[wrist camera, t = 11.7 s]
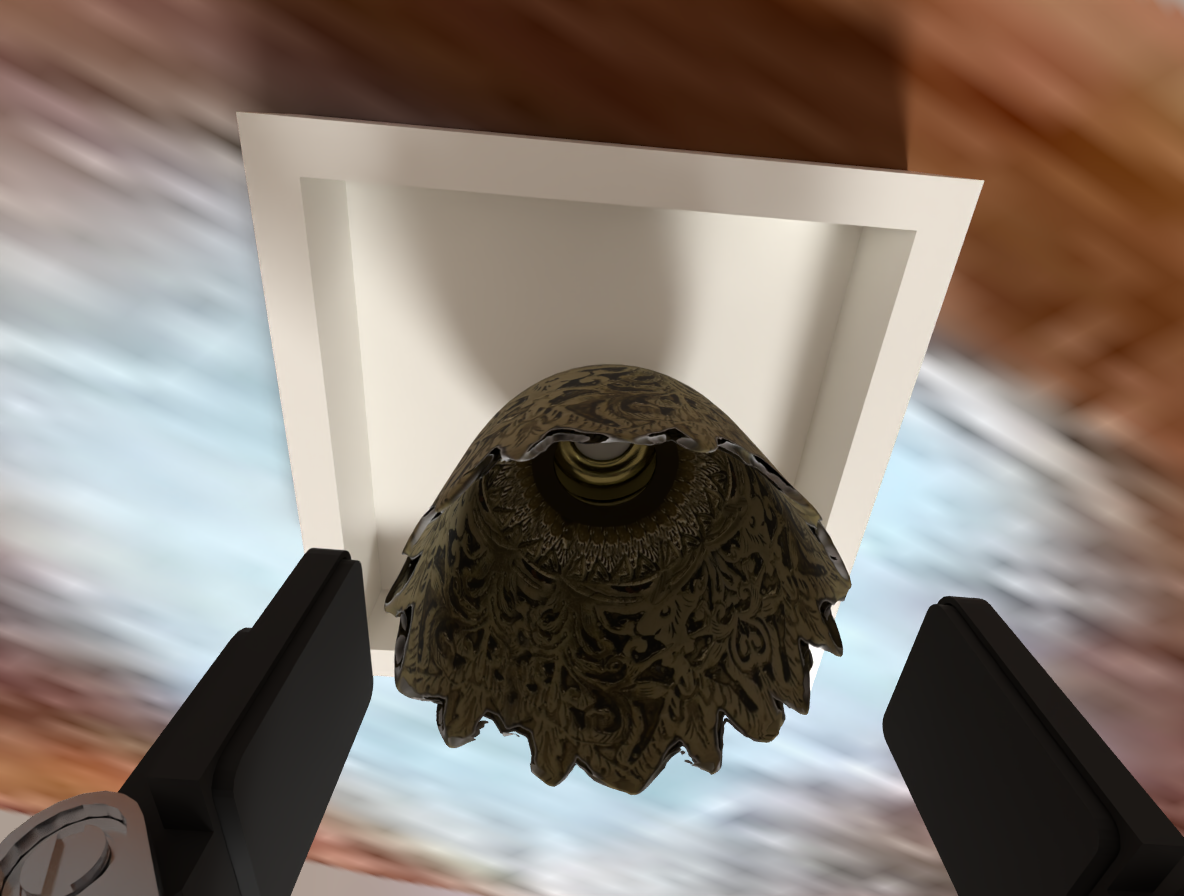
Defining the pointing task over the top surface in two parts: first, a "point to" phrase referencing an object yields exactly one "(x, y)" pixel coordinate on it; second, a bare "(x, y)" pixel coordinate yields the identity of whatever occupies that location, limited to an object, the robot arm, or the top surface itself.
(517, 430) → the ornate bronze bell
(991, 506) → the top surface
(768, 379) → the tray
